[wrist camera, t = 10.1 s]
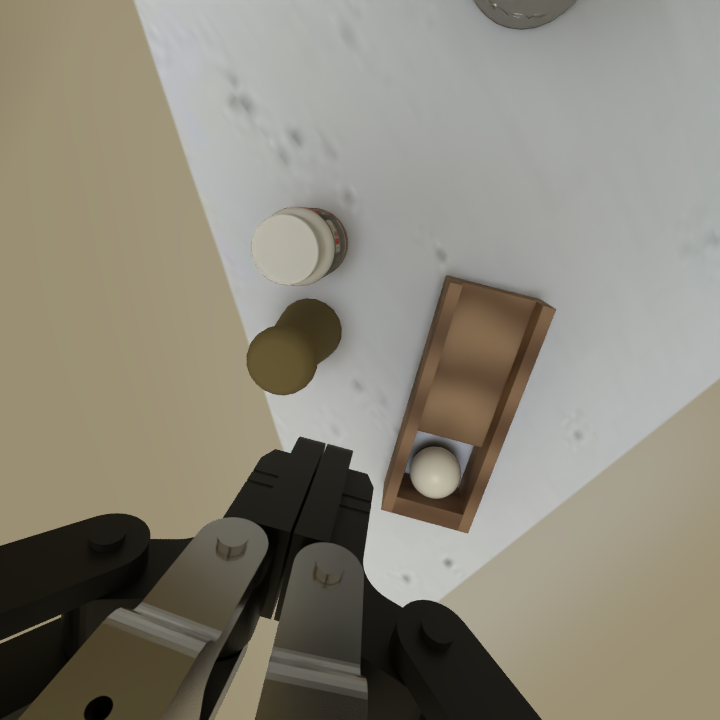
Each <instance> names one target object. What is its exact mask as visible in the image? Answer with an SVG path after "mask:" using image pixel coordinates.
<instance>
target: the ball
mask: <svg viewBox="0 0 720 720" xmlns="http://www.w3.org/2000/svg"><path fill="white" fill-rule="evenodd" d="M410 478H411V481H412V483H413V485H414V487H415V488H416V489H417V490H418V491H419V492H420V493H421V494H423V495H424V496H426V497H429V498H435V499H437V498H443V497H446V496H448V495H450V494H451V493H453V492H454V491H455V489H456V488H457V486H458V484H459V482H460V478H461V469H460V465H459V463H458V461H457V459H456V458H455V456H454V455H453V454H452V453H451V452H449V451H448V450H446V449H444V448H441V447H428V448H425V449H423V450H421V451H420V452H418V453H417V454H416V455H415V457H414V458H413V460H412V462H411V465H410Z"/></svg>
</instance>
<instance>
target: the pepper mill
mask: <svg viewBox="0 0 720 720" xmlns="http://www.w3.org/2000/svg"><path fill="white" fill-rule="evenodd" d="M341 329H342V328H341V325H340V321H339V318H338V317H337V315H336V313H335V312H334V310H333V309H331V308H330V307H329V306H328V305H327V304H326V303H323V302H321V301H318V300H316V299H302V300H298V301H296V302H294V303H292V304H291V305H289V306H288V307H287V308H286V310H285V311H284V312H283V313H282V315H281V317H280V318H279V320H278V321H277V323H276V325H275V326H274V327H270V328H267V329H266V330H264V331H262V332H261V333H259V334H258V335H257V336H256V337H255V338H254V340H253V341H252V342H251V344H250V347H249V350H248V353H247V367H248V371H249V374H250V376H251V377H252V379H253V380H254V381H255V383H256V384H257V385H258V386H260V387H261V388H262V389H263V390H265V391H267V392H270V393H272V394H276V395H288V394H294V393H296V392H298V391H299V390H301V389H303V388H305V387H306V386H307V385H308V383H309V382H310V381H311V380H312V378H313V376H314V374H315V371H316V369H317V365H318V364H319V363H320V362H321V361H323V360H324V359H325V358H327V357H328V356H329V355H331V354H332V353H333V352H334V350H335V349H336V348H337V347H338V344H339V342H340V339H341Z"/></svg>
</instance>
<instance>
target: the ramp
mask: <svg viewBox="0 0 720 720" xmlns="http://www.w3.org/2000/svg"><path fill="white" fill-rule="evenodd" d="M555 311H556V309H555V308H553V307H552V306H550V305H548V304H547V303H545V302H544V301H542V300H540V299H537V298H533V297H529V296H525V295H521V294H517V293H513V292H509V291H505V290H501V289H497V288H493V287H489V286H485V285H481V284H477V283H473V282H470V281H466V280H462V279H458V278H454V277H450V276H446V278H445V281H444V285H443V288H442V291H441V295H440V298H439V301H438V305H437V308H436V311H435V315H434V318H433V321H432V325H431V328H430V331H429V335H428V338H427V341H426V345H425V348H424V351H423V355H422V358H421V361H420V365H419V368H418V371H417V375H416V378H415V382H414V385H413V388H412V392H411V395H410V398H409V402H408V405H407V408H406V412H405V415H404V418H403V422H402V425H401V428H400V432H399V435H398V438H397V442H396V445H395V448H394V452H393V455H392V458H391V462H390V465H389V468H388V472H387V475H386V478H385V482H384V489H383V498H382V507H381V510H385V511H388V512H392V513H395V514H399V515H403V516H406V517H410V518H414V519H417V520H421V521H425V522H428V523H432V524H436V525H439V526H443V527H446V528H450V529H454V530H457V531H461V532H465V533H468V532H469V529H470V527H471V524H472V522H473V519H474V517H475V514H476V512H477V509H478V507H479V504H480V502H481V499H482V496H483V494H484V491H485V489H486V486H487V484H488V481H489V479H490V476H491V474H492V471H493V469H494V466H495V463H496V461H497V458H498V456H499V453H500V451H501V448H502V446H503V443H504V441H505V438H506V435H507V433H508V430H509V428H510V425H511V423H512V420H513V418H514V415H515V413H516V410H517V408H518V405H519V402H520V400H521V397H522V395H523V392H524V390H525V387H526V385H527V382H528V380H529V377H530V374H531V372H532V369H533V367H534V364H535V362H536V359H537V357H538V354H539V352H540V349H541V347H542V344H543V341H544V339H545V336H546V334H547V331H548V329H549V326H550V324H551V321H552V319H553V316H554V313H555ZM417 430H418V431H422V432H426V433H430V434H433V435H437V436H441V437H445V438H448V439H452V440H456V441H460V442H463V443H467V444H471V445H474V447H473V450H472V453H471V455H470V458H469V461H468V464H467V466H466V469H465V472H464V474H463V477H462V480H461V483H460V485H459V487H457V488H456V489H455V491H454V492H453V493H451V494H450V495H448V496H446V497H443V498H437V499H435V498H429V497H426V496H424V495H423V494H421V493H420V492H419V491H418V490H417V489H416V488H415V487H414V485H413V483H412V481H411V478H410V474H407V473H404V471H405V468H406V465H407V462H408V458H409V455H410V452H411V449H412V446H413V443H414V439H415V436H416V433H417Z"/></svg>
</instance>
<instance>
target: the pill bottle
mask: <svg viewBox="0 0 720 720" xmlns="http://www.w3.org/2000/svg"><path fill="white" fill-rule="evenodd" d="M347 244H348V243H347V235H346V232H345V229H344V227H343V225H342V224H341V222H340V221H339V220H338V219H337V218H336V217H335V216H334V215H333V214H331V213H329V212H327V211H325V210H322V209H317V208H303V207H290V208H285V209H282V210H280V211H278V212H276V213H275V214H273V215H272V216H271V217H269V218H267V219H265V220H264V221H263V222H262V223H261V224H260V225H259V226H258V227H257V229H256V231H255V233H254V235H253V239H252V244H251V250H252V256H253V260H254V262H255V264H256V266H257V268H258V269H259V271H260V272H261V273H262V274H263V275H264V276H265V277H266V278H268V279H269V280H271V281H273V282H275V283H278V284H283V285H292V286H305V285H309V284H312V283H314V282H316V281H318V280H320V279H321V278H323V277H324V276H326V275H328V274H329V273H331V272H333V271H334V270H335V269H336V268H337V267H338V266H339V265H340V264H341V263H342V261H343V259H344V258H345V255H346V252H347Z"/></svg>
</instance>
